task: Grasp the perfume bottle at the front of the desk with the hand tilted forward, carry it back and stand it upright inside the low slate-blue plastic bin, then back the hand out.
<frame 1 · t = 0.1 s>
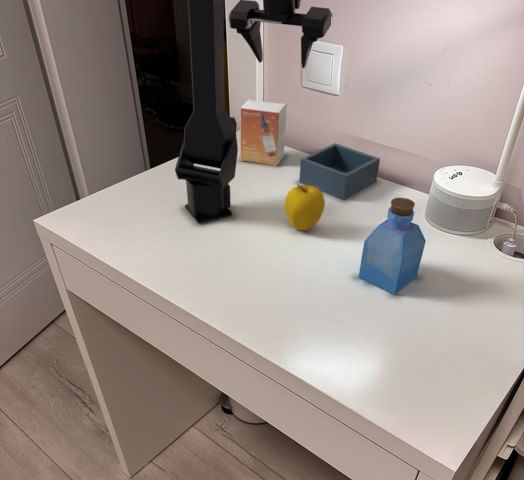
hand: (282, 64, 107), 15 cm above the table, tool pointing down, fingers open, 9 cm apart
apple: (302, 229, 90), on the table
bin: (337, 182, 103), on the table
small box: (262, 159, 110), on the table
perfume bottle: (387, 278, 80), on the table
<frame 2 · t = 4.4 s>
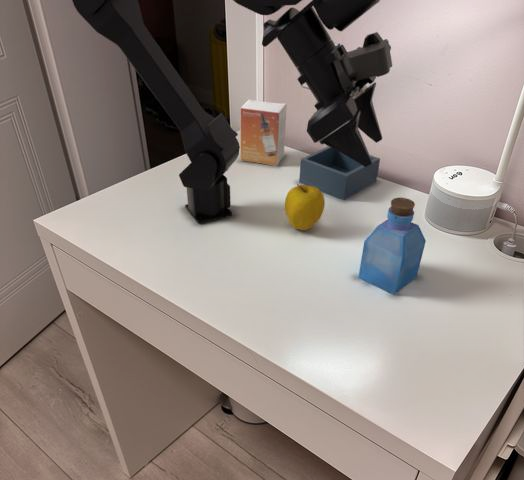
hand: (374, 152, 78), 14 cm above the table, tool tilted 40°, fingers open, 9 cm apart
nothing on the table moved.
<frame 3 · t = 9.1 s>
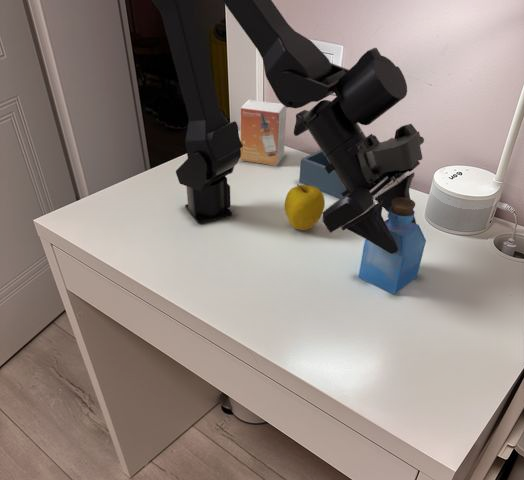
hand: (404, 241, 74), 7 cm above the table, tool tilted 45°, fingers closed on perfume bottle, 6 cm apart
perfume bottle: (387, 278, 80), on the table, touching gripper
everything else where it was.
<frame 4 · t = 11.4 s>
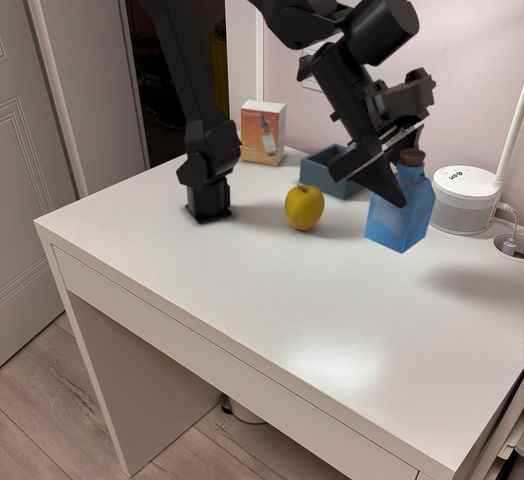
hand: (413, 196, 70), 13 cm above the table, tool tilted 45°, fingers closed on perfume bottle, 6 cm apart
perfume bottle: (394, 238, 75), point 6 cm above the table, touching gripper
everything else where it was.
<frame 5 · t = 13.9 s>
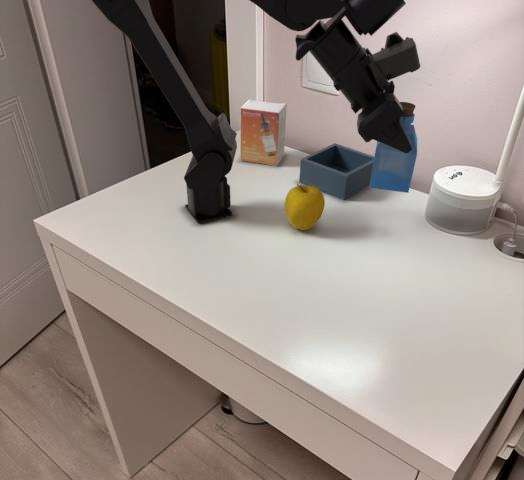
hand: (406, 142, 83), 13 cm above the table, tool tilted 45°, fingers closed on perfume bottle, 6 cm apart
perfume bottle: (389, 183, 88), point 7 cm above the table, touching gripper
everything else where it was.
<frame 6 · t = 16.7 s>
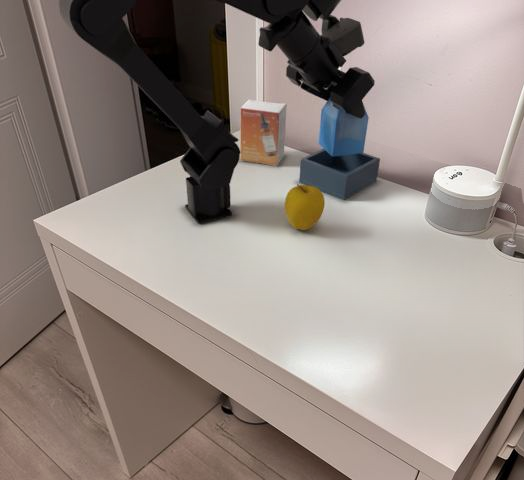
hand: (351, 110, 94), 13 cm above the table, tool tilted 45°, fingers closed on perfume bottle, 6 cm apart
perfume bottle: (340, 149, 98), point 6 cm above the table, touching gripper
everything else where it was.
when the fingers open (7 cm above the table, at t = 19.0 s): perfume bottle stays where it is, resting on bin.
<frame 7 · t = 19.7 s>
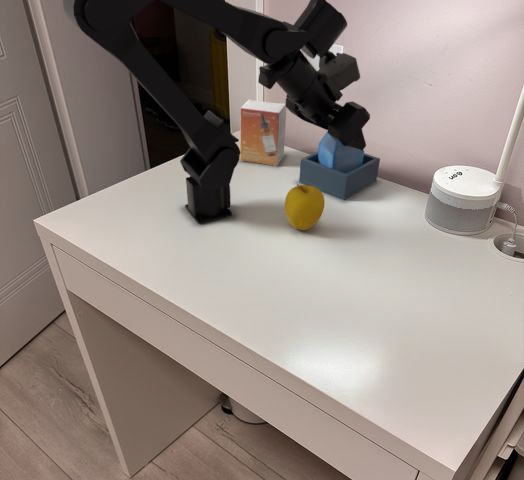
hand: (349, 138, 98), 8 cm above the table, tool tilted 45°, fingers open, 9 cm apart
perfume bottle: (337, 180, 102), resting on bin
everything else where it was.
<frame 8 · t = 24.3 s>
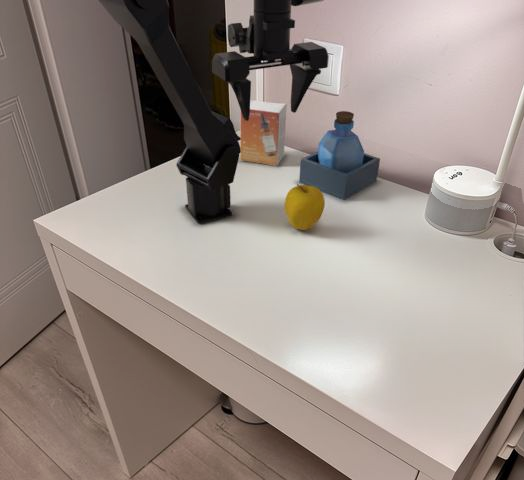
hand: (270, 115, 92), 13 cm above the table, tool pointing down, fingers open, 9 cm apart
nothing on the table moved.
at the end: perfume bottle inside the target area in the bin (0.1 cm from its centre), point 0.4 cm above the bin's base; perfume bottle tilted 0°; the gripper is holding nothing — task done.
